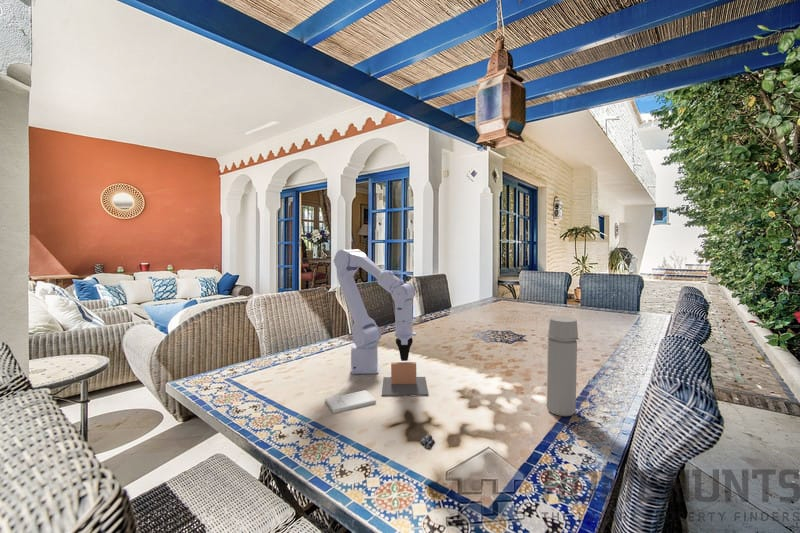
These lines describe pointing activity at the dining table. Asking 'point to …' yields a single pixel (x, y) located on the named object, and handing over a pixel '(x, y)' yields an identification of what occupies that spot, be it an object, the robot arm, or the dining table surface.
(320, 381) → the dining table surface
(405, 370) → the terracotta tile
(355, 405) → the external hard drive
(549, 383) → the water bottle
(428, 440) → the blueberries
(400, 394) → the mat
